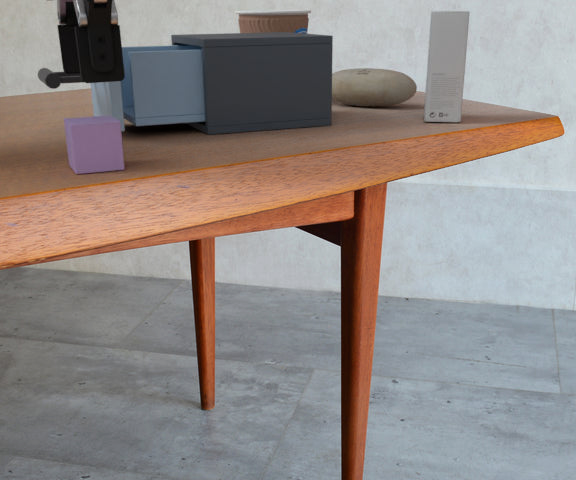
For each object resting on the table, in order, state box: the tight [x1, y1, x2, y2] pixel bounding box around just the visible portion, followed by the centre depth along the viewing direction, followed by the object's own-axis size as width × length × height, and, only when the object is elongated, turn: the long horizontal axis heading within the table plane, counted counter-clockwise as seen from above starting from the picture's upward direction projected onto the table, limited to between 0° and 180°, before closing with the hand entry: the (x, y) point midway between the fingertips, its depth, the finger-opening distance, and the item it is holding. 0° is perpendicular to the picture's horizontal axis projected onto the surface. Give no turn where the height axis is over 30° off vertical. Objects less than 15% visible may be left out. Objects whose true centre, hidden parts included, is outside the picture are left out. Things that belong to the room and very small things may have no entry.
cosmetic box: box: [423, 10, 470, 123], centre depth 85 cm, size 6×4×12 cm
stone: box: [332, 67, 418, 107], centre depth 97 cm, size 6×6×12 cm
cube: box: [63, 115, 126, 175], centre depth 62 cm, size 4×4×4 cm
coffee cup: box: [235, 9, 312, 34], centre depth 102 cm, size 10×10×12 cm
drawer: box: [37, 44, 205, 132], centre depth 79 cm, size 19×11×8 cm, turn 114°
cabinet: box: [170, 32, 334, 136], centre depth 84 cm, size 15×13×10 cm
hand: (92, 76), depth 60 cm, fingers open, 9 cm apart
